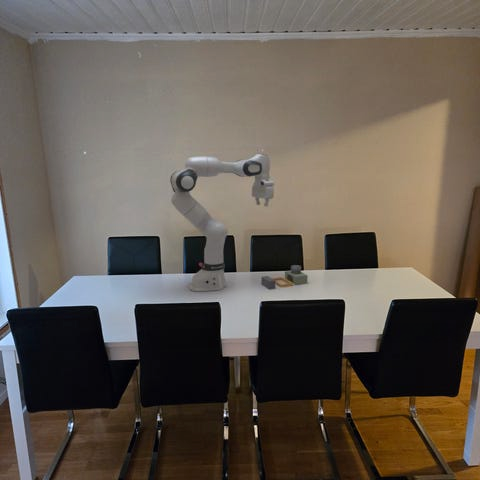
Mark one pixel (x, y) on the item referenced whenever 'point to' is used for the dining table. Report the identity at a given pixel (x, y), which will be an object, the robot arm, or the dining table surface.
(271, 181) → the robot arm
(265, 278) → the dark grey block
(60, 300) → the dining table surface
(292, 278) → the grey and tan shapes
